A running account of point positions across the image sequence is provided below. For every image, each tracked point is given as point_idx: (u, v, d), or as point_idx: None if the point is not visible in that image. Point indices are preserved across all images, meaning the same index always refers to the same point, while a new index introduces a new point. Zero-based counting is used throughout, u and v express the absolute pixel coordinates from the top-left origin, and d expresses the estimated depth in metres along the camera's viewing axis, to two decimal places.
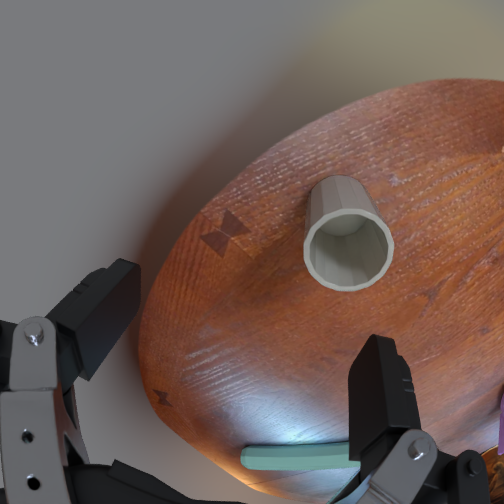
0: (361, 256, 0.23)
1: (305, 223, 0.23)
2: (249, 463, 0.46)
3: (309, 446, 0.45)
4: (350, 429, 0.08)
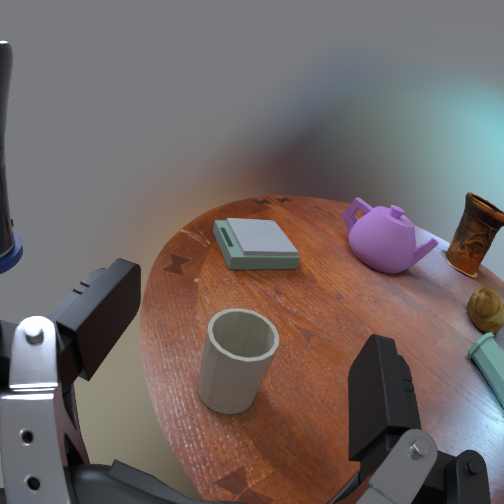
0: (260, 352, 0.28)
1: (225, 381, 0.24)
2: None
3: (503, 404, 0.30)
4: (350, 429, 0.08)
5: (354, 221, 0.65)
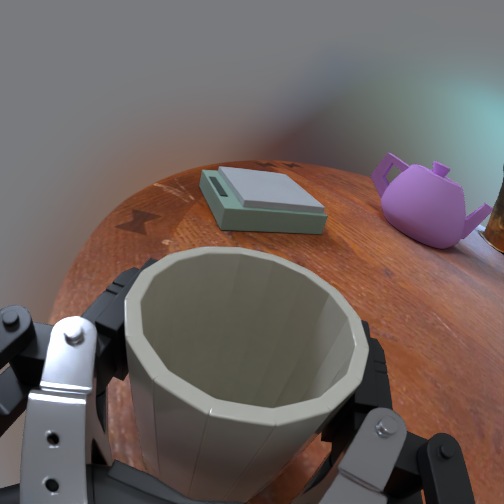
0: (292, 370, 0.10)
1: (192, 469, 0.06)
2: None
3: None
4: None
5: (387, 183, 0.48)
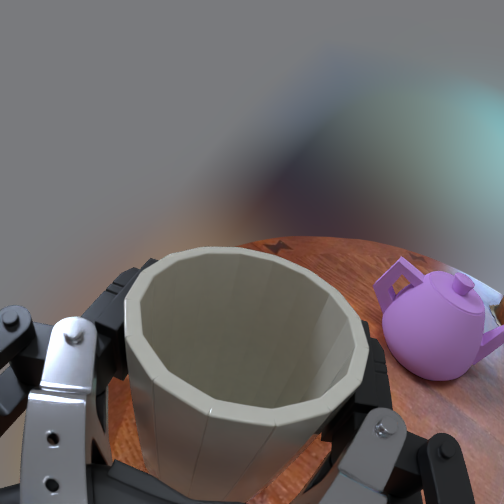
0: (292, 371, 0.10)
1: (192, 469, 0.06)
2: None
3: None
4: None
5: (392, 295, 0.38)
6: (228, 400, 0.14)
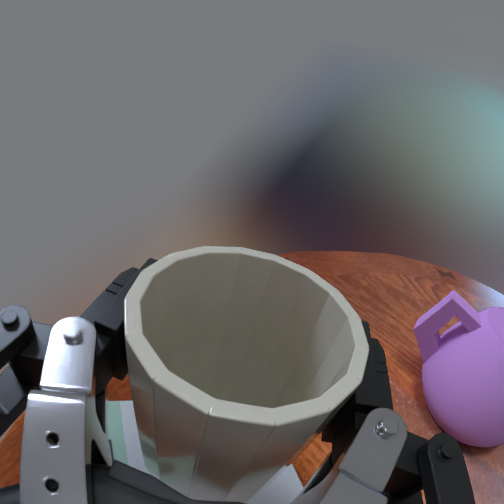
0: (292, 370, 0.10)
1: (192, 469, 0.06)
2: None
3: None
4: None
5: (437, 340, 0.26)
6: (228, 400, 0.14)
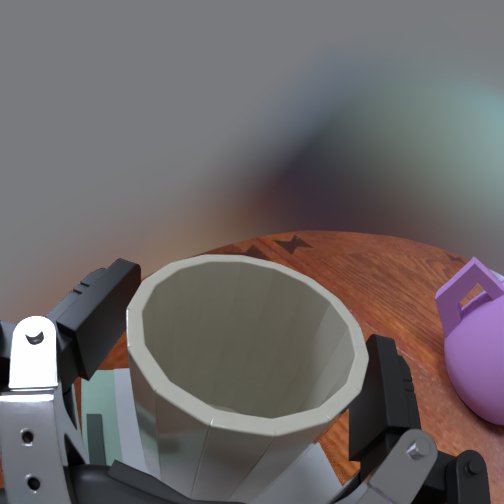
0: (293, 377, 0.10)
1: (194, 474, 0.06)
2: None
3: None
4: (350, 429, 0.08)
5: (459, 312, 0.24)
6: (229, 404, 0.14)
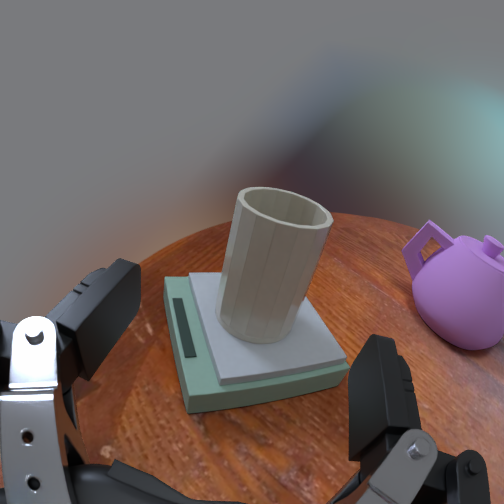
0: None
1: (261, 273, 0.18)
2: None
3: None
4: (350, 429, 0.08)
5: (421, 261, 0.35)
6: None
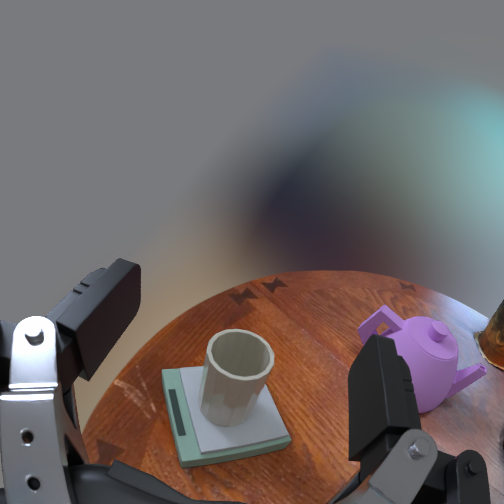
0: (256, 369, 0.29)
1: (223, 398, 0.25)
2: None
3: None
4: (350, 429, 0.08)
5: None
6: None
